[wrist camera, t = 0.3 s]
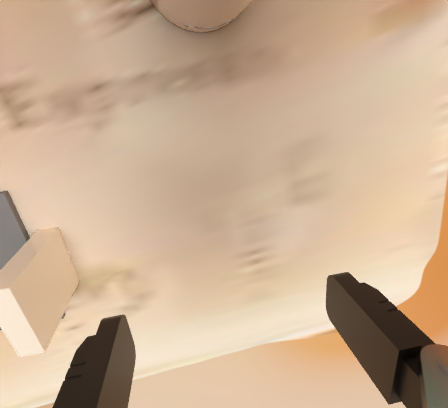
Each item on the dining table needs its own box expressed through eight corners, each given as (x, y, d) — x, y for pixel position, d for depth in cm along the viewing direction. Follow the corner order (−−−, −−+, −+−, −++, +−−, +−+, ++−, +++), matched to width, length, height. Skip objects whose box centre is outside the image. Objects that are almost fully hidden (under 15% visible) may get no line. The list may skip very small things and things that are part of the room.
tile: (34, 230, 27) (-25, 293, 19) (57, 227, 27) (9, 288, 19) (58, 283, 30) (16, 357, 22) (79, 280, 30) (45, 352, 22)
